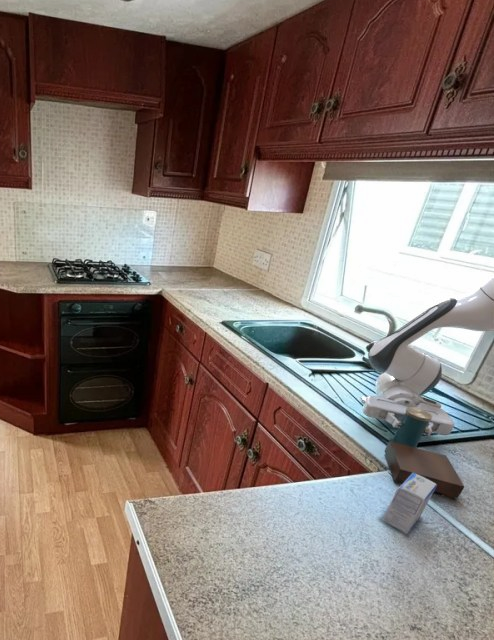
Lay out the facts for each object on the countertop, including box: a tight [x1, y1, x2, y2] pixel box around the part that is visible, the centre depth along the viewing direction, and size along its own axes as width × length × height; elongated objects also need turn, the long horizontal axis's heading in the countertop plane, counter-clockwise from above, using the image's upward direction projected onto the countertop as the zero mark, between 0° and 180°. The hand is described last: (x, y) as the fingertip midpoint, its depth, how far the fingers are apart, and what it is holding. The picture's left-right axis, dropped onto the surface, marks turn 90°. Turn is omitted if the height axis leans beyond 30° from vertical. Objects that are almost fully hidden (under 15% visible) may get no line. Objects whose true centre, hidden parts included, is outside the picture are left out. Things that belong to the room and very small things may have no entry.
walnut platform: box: [384, 440, 465, 500], centre depth 93 cm, size 12×12×4 cm
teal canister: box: [391, 407, 432, 448], centre depth 102 cm, size 5×5×10 cm
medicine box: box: [382, 473, 437, 535], centre depth 78 cm, size 8×4×9 cm, turn 130°
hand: (412, 429), depth 102 cm, fingers closed on teal canister, 5 cm apart
